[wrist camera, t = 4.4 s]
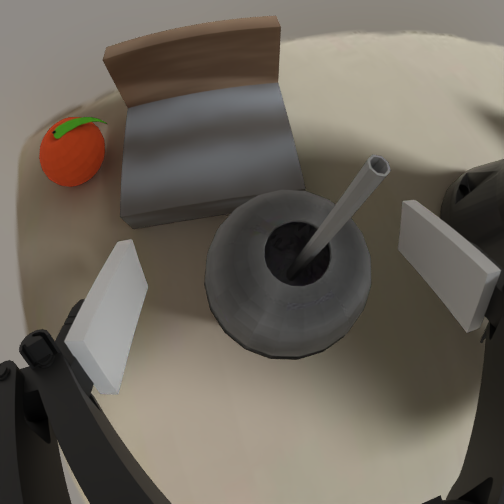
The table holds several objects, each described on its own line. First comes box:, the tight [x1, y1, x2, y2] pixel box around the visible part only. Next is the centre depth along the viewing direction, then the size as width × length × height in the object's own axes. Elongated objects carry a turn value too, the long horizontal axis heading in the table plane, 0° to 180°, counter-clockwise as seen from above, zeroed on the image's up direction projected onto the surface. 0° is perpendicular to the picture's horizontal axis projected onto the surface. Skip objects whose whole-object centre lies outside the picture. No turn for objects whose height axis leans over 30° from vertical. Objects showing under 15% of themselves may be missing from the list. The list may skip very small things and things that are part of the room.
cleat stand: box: [103, 16, 306, 229], centre depth 24 cm, size 14×15×10 cm
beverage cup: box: [204, 155, 391, 360], centre depth 15 cm, size 7×7×20 cm
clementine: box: [39, 117, 107, 187], centre depth 25 cm, size 8×7×7 cm
